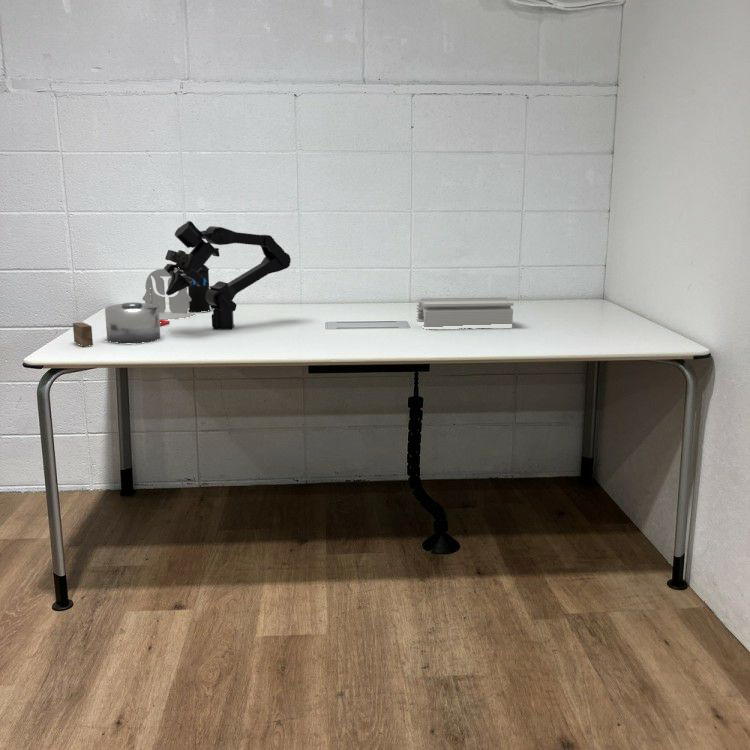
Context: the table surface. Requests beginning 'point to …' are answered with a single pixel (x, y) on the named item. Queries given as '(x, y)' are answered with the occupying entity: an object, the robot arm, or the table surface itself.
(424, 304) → the aluminum extrusion profile
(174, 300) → the ornament
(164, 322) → the tow hook
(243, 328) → the table surface
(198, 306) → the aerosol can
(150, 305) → the cylinder
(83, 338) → the walnut block
